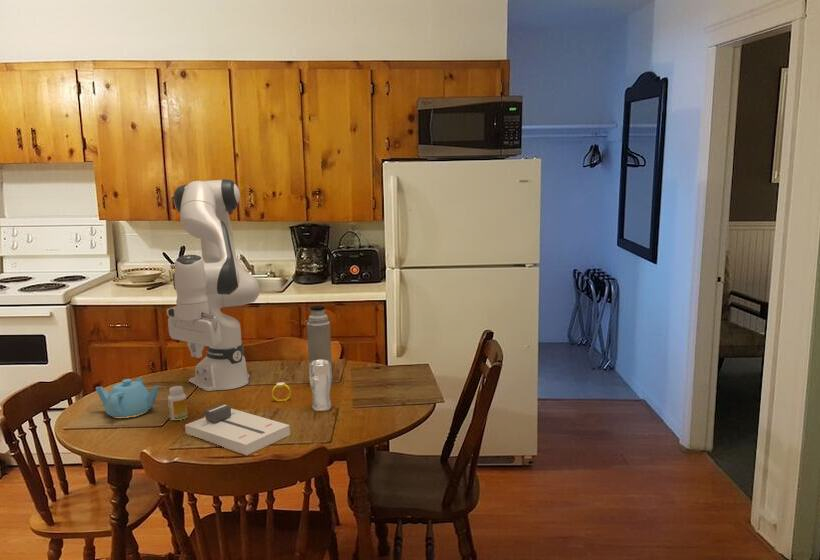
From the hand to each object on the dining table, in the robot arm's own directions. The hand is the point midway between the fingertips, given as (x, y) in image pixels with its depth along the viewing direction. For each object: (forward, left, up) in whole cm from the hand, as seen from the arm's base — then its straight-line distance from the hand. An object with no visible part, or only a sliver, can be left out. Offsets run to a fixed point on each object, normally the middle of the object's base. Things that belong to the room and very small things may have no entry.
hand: (196, 356), depth 196 cm
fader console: (+16, 0, -21) cm, 26 cm away
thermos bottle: (+6, +46, -21) cm, 51 cm away
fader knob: (+8, 0, -17) cm, 19 cm away
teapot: (-28, -6, -21) cm, 36 cm away
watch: (+6, +27, -21) cm, 35 cm away
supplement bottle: (-10, -1, -21) cm, 23 cm away
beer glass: (+22, +29, -21) cm, 42 cm away
